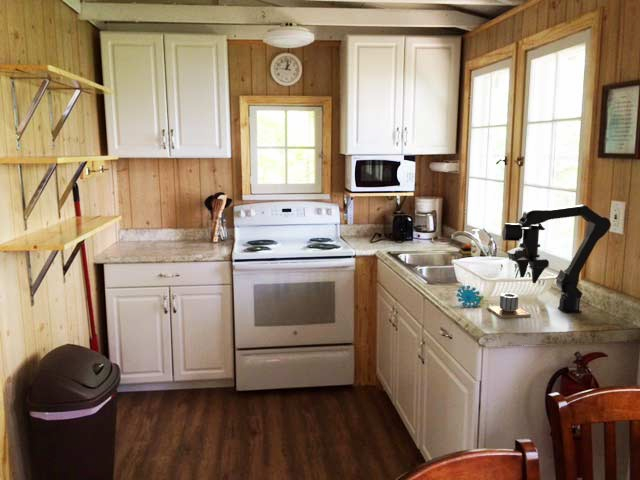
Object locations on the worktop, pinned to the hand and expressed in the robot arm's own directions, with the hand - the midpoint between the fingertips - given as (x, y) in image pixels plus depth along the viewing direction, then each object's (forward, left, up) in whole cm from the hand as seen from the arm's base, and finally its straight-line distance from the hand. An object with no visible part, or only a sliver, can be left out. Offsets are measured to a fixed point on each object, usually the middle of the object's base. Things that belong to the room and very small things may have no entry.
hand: (527, 280), depth 217 cm
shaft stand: (+9, +3, -12) cm, 15 cm away
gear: (+20, -9, -12) cm, 25 cm away
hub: (+9, +3, -10) cm, 14 cm away
